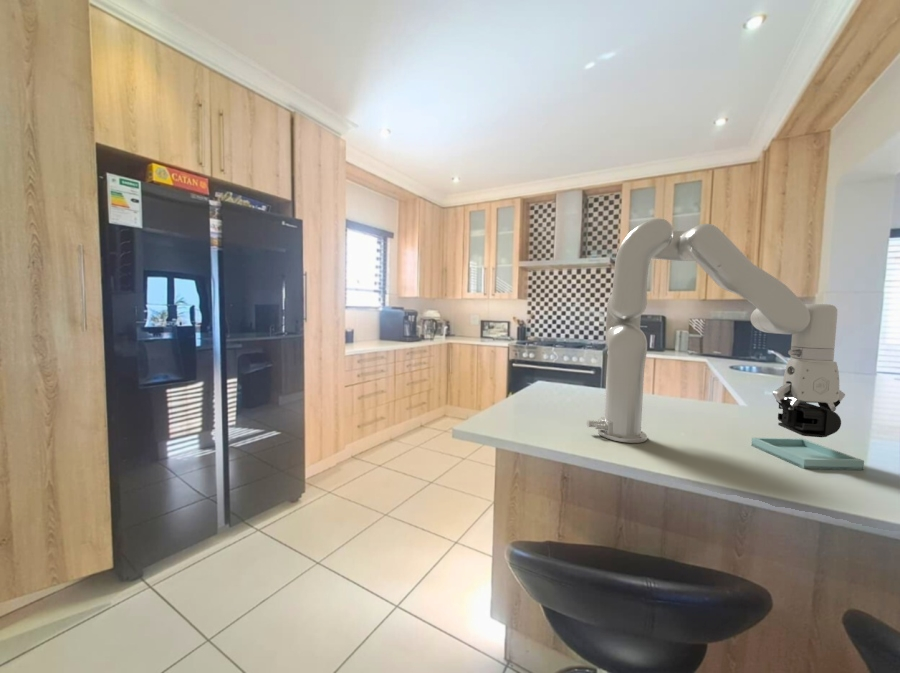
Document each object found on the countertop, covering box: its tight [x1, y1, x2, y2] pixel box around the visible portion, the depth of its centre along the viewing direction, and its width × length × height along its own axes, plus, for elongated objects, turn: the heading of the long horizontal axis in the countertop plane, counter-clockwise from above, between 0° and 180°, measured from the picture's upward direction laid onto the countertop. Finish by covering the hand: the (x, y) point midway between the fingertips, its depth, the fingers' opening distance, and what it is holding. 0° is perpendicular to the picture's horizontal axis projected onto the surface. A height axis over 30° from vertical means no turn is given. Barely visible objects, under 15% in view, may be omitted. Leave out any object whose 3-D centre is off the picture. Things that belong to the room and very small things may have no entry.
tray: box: [751, 437, 865, 471], centre depth 91 cm, size 14×15×2 cm
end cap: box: [777, 401, 842, 438], centre depth 90 cm, size 10×7×7 cm
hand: (806, 425), depth 90 cm, fingers closed on end cap, 8 cm apart
